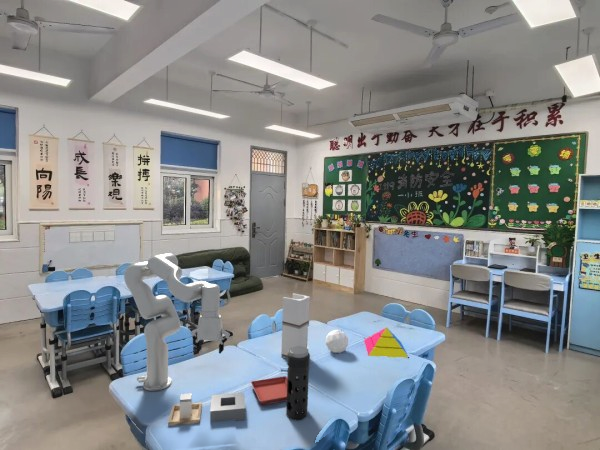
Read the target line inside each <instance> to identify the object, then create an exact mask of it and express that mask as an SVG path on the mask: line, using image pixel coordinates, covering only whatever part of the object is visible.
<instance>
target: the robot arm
mask: <svg viewBox="0 0 600 450" xmlns="http://www.w3.org/2000/svg"><path fill="white" fill-rule="evenodd" d="M182 275H183V270H182V268H181V267H180V266H179V260H178V258H177V256H176V255H174V254H173V253H164V254H163V253H162V254H156V255H153V256H151V257H149V258H148V260H147V261H139V262H135V263H132V264H129V265H128V266H126V268H125V271H124V274H123V278H124V279H123V280H124V283H125V285H126V287H127V288H128V289H129V291H130V294H131V295H132V298H133V300H134V302H135V304H136V307H137V309H138V312H139V314H140V316H141V317H142V319H144V320H149V319H153V318H156V319H153V320H151V321H149V322H148V323H147V324H145V327H144V329H143V332H144V338H145V343H146V345H145V346H146V375H143V376H142V375H139V376H136V381H137V382H138V383H139V384H140V383H141V384H142V383H143V384H142V386H143V389H144V390H145V391H149V392H155V391H162V390H164V389H167V388H168V387H170V386H171V384H172V378H171V377H169V347H168V346H169V345H168V344H167V342H166V341H165V338H167V337H169V336H172V335H174V334H177V333H178V332H179V331H180V329H181V320H180V318H179V314H178V312H177V310H176V307H175V305H174V303H173V301H172V300H171V298H170V297H169V296H168V295H166V294H159V295H156V296H155V294H154V292H153V290H152V289H151V287H150V286H149V285H148V284H147V283H146V282H144V281H143V280H147V279H152V278H156V277H158V278H160V279H162V280H163V281H165V283H167V288H168V291H169V292H170V294H171V295H172V296H174V298H175V299H178V300H179V301H180V302H183V303H191V302H194V301H197V300H200V299H201V309H198V314H199V313H200V316H199V317H198V324H197V328H195V329H193V330H191V331H190V335H191V337H192V339H193V340H194V341H195V343H196V352H198V353H199V352H201V350H202V348H203V347H202V342H203V341H210V342H211V341H212V342H216V341H217V342H218V343H219V344H218V354H220V355H221V354H222V353H223V351H224V350H225V349H224V348H225V347H224V346H225V343H226V342H227V340H229V338H230V336H231V334H230V333H229V332H228V331H226V330H225V329H223V319H222V316H221V314H220V305H221V304H220V303H221V301H220V297H221V296H220V295H221V293H220V292H221V290H220V289H221V287H220V285H218V284H216V283H210V282H208V281H206V280H205V281H204V280H199V281H194V282H191V283H190V282H189V283H187V284H186V283H184V282H182V281H180V280H181V278H182ZM157 317H160V318H157ZM223 335H224V336H225V337H223Z"/></svg>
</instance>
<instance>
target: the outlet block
mask: <svg viewBox="0 0 600 450" xmlns="http://www.w3.org/2000/svg"><path fill="white" fill-rule="evenodd" d="M245 397H246V396H245V392H235V393H220V394H211V399H210V408H209V409H210V413H209V415H210V416H209V418H210V419H209V420H210V423H212V422H224V421H233V420H234V421H237V422H238V421H246V398H245Z"/></svg>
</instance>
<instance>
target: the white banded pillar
mask: <svg viewBox="0 0 600 450" xmlns="http://www.w3.org/2000/svg"><path fill="white" fill-rule="evenodd" d="M310 302H311V296H308V295H304V294H299V293H294V292H293V293H292V297H286V296H283V297H282V318H281V319H282V323H281V324H282V325H281V356H280V357H281V358H282V359H286V360H287V354H288V353H289V349H290V348H292V347H295V346H302V347H306V348H307V349H308V341H309V340H308V337H309V334H308V333H309V326H310V312H311V311H310V309H311V308H310V307H311V306H310V305H311V303H310Z"/></svg>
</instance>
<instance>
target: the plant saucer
mask: <svg viewBox="0 0 600 450" xmlns="http://www.w3.org/2000/svg"><path fill="white" fill-rule="evenodd" d="M250 384H251V385H252V388H253V390H254V392H255V394H256V396H257V399H258V401H259V403H260V404H262V406H263V405H268V404H275V403H279V402H280V403H281V402H285V401H286V402H287V376H286V375H284V376H277V377H276V376H275V377H272V378H265V379H264V378H263V379H257V380H252V381H251V382H250ZM291 392H292V391H291Z"/></svg>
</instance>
